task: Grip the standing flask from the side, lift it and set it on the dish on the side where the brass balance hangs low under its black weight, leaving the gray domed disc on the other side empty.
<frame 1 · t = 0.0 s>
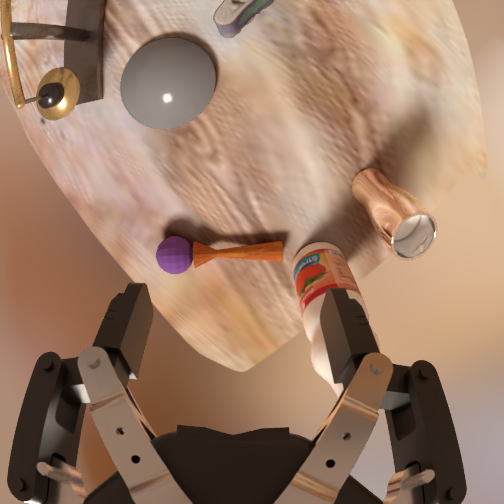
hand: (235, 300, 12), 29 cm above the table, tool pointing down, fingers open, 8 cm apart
fruit juice: (317, 261, 48), on the table
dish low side: (167, 82, 30), on the table
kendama: (219, 244, 46), on the table
flask: (246, 13, 25), on the table
balance: (85, 35, 24), on the table
beer glass: (368, 185, 40), on the table
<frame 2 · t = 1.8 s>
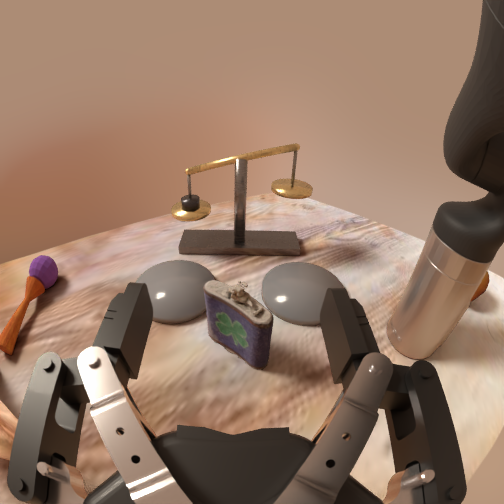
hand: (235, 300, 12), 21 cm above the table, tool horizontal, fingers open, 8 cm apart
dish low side: (174, 291, 42), on the table
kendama: (33, 311, 35), on the table
gray domed disc: (302, 293, 43), on the table
flask: (238, 348, 34), on the table
balance: (239, 245, 53), on the table
beer glass: (36, 453, 17), on the table
fruit: (461, 298, 42), on the table
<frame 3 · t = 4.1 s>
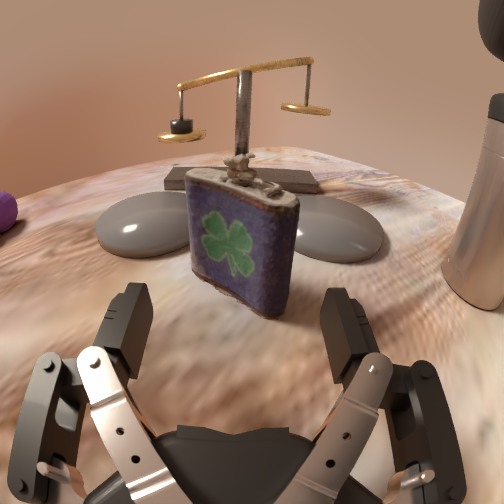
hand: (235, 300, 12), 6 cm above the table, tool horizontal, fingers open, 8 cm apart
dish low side: (151, 223, 30), on the table
gray domed disc: (327, 228, 31), on the table
flask: (236, 289, 22), on the table
balance: (240, 182, 41), on the table
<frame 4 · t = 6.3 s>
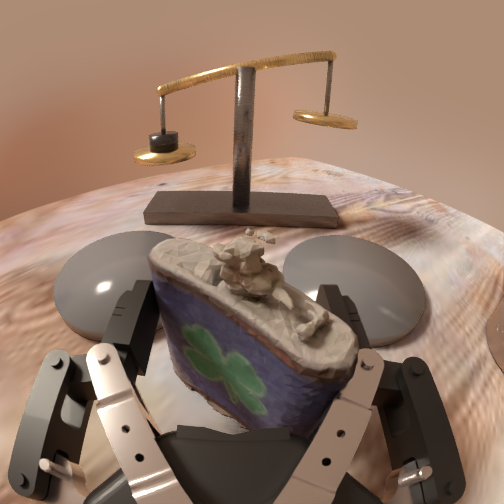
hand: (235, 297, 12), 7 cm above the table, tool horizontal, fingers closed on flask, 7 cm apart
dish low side: (123, 281, 22), on the table
gray domed disc: (354, 286, 23), on the table
flask: (237, 402, 14), on the table, touching gripper
balance: (240, 212, 33), on the table
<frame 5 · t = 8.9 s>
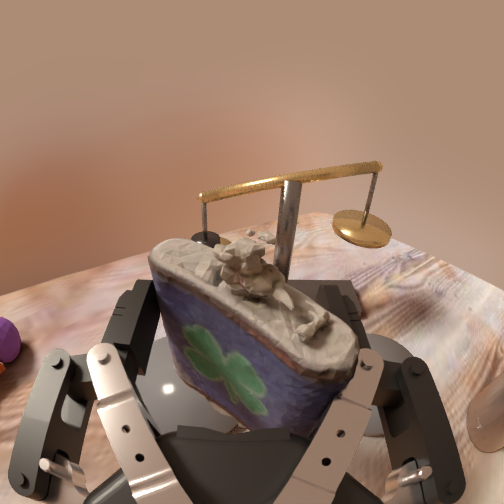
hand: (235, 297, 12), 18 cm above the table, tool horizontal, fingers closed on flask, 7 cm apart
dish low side: (186, 388, 25), on the table
gray domed disc: (371, 384, 26), on the table
flask: (237, 402, 14), point 11 cm above the table, touching gripper
balance: (276, 302, 36), on the table
when the fingers open (9 cm above the table, at t = 11.8 s): flask drops 1 cm, resting on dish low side.
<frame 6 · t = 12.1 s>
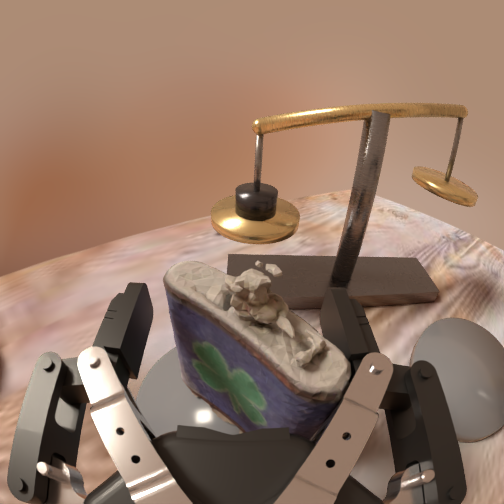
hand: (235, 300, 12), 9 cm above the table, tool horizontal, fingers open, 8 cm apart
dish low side: (235, 416, 16), on the table
gray domed disc: (466, 378, 17), on the table
flask: (239, 411, 15), point 1 cm above the table, touching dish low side, gripper
balance: (338, 286, 27), on the table
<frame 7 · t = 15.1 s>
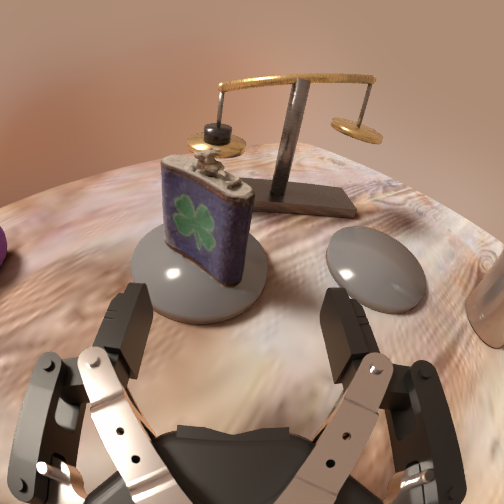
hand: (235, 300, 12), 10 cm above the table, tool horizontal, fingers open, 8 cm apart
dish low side: (199, 267, 26), on the table
gray domed disc: (376, 269, 30), on the table
flask: (201, 260, 26), point 1 cm above the table, touching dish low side
balance: (275, 200, 38), on the table
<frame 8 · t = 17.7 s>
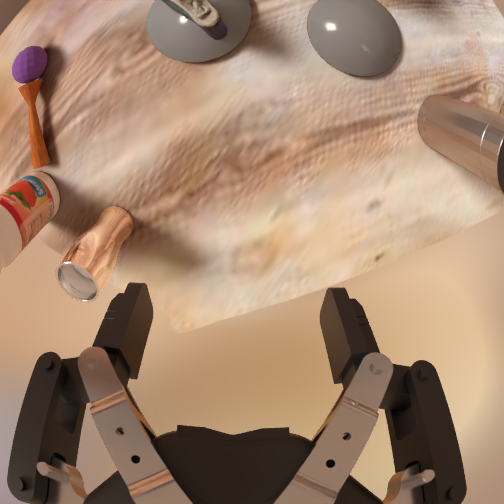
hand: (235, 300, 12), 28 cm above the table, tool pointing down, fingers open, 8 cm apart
fruit juice: (42, 194, 37), on the table
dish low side: (198, 18, 24), on the table
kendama: (41, 103, 28), on the table
gray domed disc: (354, 32, 25), on the table
flask: (199, 17, 23), point 1 cm above the table, touching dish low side
beer glass: (117, 221, 41), on the table
fruit: (502, 113, 29), on the table
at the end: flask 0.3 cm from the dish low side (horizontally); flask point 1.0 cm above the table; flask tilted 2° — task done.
